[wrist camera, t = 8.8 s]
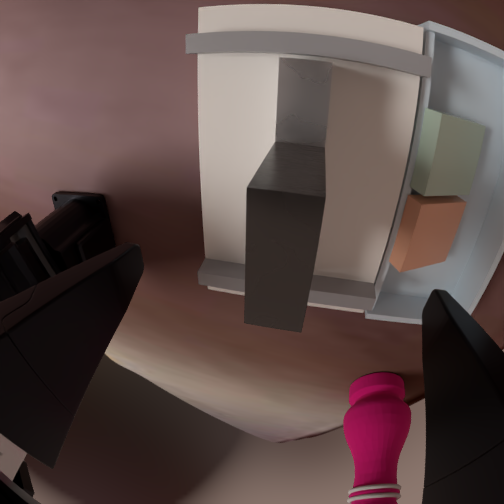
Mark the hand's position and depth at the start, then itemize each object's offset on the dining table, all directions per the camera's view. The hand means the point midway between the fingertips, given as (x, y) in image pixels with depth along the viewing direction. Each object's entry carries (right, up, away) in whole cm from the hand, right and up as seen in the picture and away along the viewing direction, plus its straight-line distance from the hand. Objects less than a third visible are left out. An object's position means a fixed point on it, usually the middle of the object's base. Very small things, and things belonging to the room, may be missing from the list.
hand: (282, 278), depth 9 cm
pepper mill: (+13, -14, +21) cm, 28 cm away
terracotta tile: (+10, +2, +8) cm, 13 cm away
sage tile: (+10, +6, +5) cm, 13 cm away
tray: (+12, +5, +8) cm, 15 cm away
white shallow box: (+2, +6, +9) cm, 12 cm away
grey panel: (+2, +5, +7) cm, 8 cm away
